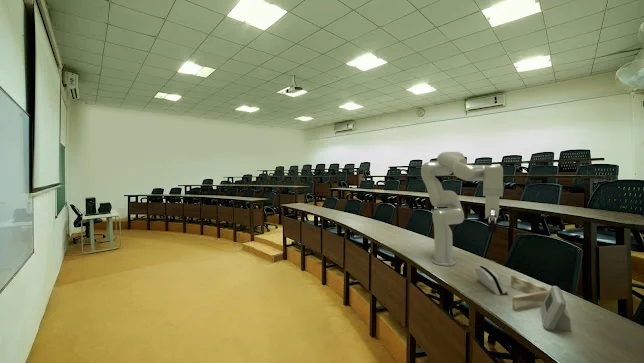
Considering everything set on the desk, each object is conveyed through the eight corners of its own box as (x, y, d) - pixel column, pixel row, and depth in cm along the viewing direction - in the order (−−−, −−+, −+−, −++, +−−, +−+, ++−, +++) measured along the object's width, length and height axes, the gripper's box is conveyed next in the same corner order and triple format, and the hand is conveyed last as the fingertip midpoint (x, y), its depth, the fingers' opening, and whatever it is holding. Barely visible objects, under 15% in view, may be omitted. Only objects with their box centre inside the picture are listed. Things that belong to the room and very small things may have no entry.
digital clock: (541, 309, 103) (541, 281, 103) (574, 318, 97) (574, 288, 96) (532, 326, 92) (532, 295, 92) (568, 338, 86) (568, 304, 85)
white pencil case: (509, 295, 115) (501, 273, 115) (498, 298, 116) (490, 276, 116) (489, 279, 132) (481, 260, 132) (479, 283, 132) (472, 263, 133)
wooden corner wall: (478, 291, 119) (478, 280, 119) (514, 286, 124) (514, 275, 124) (516, 311, 102) (516, 297, 102) (556, 303, 107) (556, 291, 107)
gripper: (483, 190, 133) (483, 225, 133) (482, 193, 118) (482, 233, 119) (502, 191, 129) (501, 227, 129) (503, 194, 114) (502, 235, 115)
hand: (492, 230), depth 124 cm, fingers open, 9 cm apart
